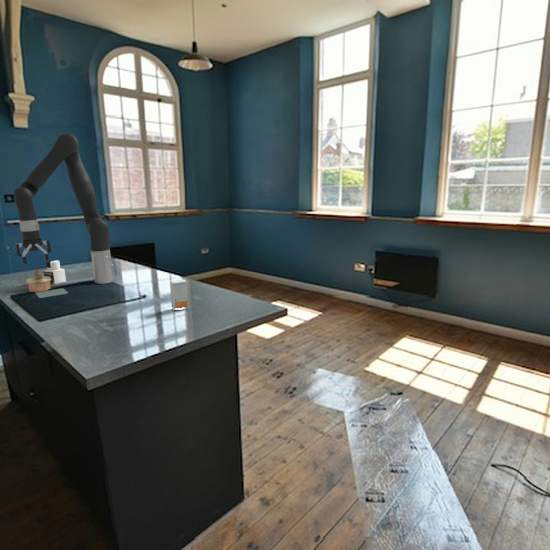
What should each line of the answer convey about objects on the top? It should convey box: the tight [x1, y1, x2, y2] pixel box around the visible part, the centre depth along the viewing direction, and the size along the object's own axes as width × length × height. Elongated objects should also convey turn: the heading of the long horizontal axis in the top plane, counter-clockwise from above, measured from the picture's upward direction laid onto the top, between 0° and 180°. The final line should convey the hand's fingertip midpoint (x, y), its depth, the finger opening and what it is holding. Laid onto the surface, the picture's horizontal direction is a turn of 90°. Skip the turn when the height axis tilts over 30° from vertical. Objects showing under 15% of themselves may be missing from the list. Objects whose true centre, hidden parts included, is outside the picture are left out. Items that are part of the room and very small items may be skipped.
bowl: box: [27, 281, 52, 293], centre depth 188 cm, size 9×9×4 cm
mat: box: [35, 287, 69, 299], centre depth 181 cm, size 12×12×1 cm
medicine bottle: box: [43, 259, 67, 285], centre depth 201 cm, size 7×7×12 cm
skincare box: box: [169, 278, 189, 309], centre depth 155 cm, size 6×4×12 cm
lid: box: [25, 269, 51, 285], centre depth 186 cm, size 10×10×6 cm
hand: (36, 262), depth 185 cm, fingers open, 8 cm apart
